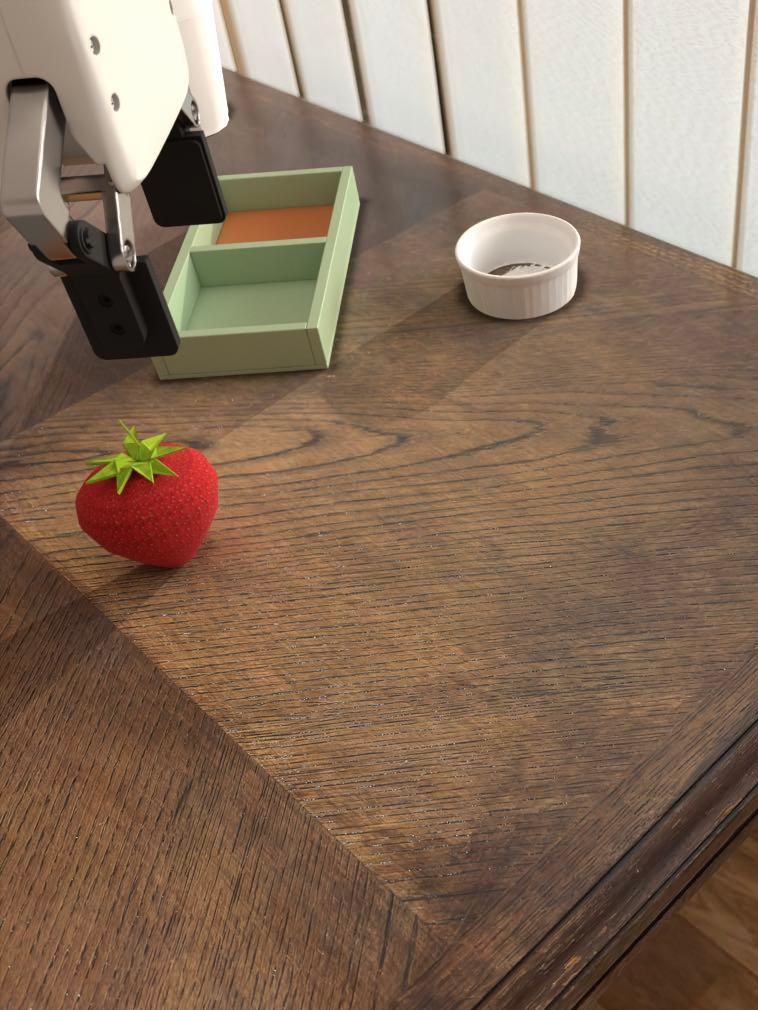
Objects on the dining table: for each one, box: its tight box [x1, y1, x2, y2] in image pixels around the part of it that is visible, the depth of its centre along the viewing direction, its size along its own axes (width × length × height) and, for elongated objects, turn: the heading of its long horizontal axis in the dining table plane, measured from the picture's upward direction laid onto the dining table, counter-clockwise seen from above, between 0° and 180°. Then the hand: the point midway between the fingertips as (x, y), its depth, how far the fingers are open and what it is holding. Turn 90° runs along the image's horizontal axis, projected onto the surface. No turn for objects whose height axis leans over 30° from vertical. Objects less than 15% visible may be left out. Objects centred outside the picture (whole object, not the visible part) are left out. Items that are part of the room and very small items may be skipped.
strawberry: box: [74, 419, 219, 569], centre depth 58 cm, size 6×8×10 cm
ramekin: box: [454, 212, 581, 320], centre depth 76 cm, size 9×9×4 cm
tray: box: [150, 165, 361, 381], centre depth 79 cm, size 12×22×4 cm, turn 1°
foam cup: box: [171, 0, 230, 138], centre depth 97 cm, size 10×9×13 cm
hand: (168, 282), depth 44 cm, fingers open, 9 cm apart
